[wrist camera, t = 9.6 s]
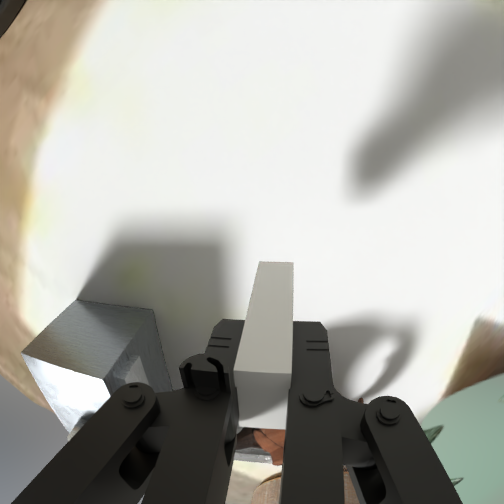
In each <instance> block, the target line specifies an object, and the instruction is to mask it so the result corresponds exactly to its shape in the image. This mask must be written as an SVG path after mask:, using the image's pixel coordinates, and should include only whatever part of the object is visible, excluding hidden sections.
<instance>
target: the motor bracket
mask: <svg viewBox="0 0 504 504" xmlns="http://www.w3.org/2000/svg"><path fill="white" fill-rule="evenodd" d="M21 354H22V356H23V358H24V360H25V362H26V364H27V366H28V368H29V370H30V372H31V374H32V375H33V377H34V379H35V381H36V383H37V384H38V386H39V388H40V389H41V391H42V393H43V394H44V396H45V398H46V399H47V401H48V403H49V404H50V406H51V407H52V409H53V410H54V412H55V414H56V415H57V417H58V418H59V420H60V421H61V422H62V424H63V425H64V427H65V428H66V430H67V431H68V432H69V436H68V437H67V439H68V441H69V440H70V439H71V438H72V437H73V436H74V435H75V434H76V433H77V432H78V431H79V430H80V429H81V428H82V426H83V425H84V424H85V423H86V422H87V421H88V420H89V419H90V418H91V417H92V416H93V415H94V414H95V413H96V411H97V410H98V409H99V408H100V407H101V406H102V405H103V404H104V403H105V402H106V401H107V400H108V399H109V398H110V396H111V395H112V394H113V393H114V392H115V391H116V390H117V389H119V388H120V387H121V386H123V385H125V384H128V383H132V382H141V383H145V384H147V385H149V386H150V387H152V388H153V390H154V392H155V393H158V392H169V391H173V389H172V385H171V382H170V378H169V374H168V371H167V367H166V363H165V359H164V356H163V352H162V348H161V344H160V340H159V335H158V331H157V327H156V322H155V318H154V313H153V310H150V309H141V308H133V307H124V306H116V305H108V304H101V303H94V302H87V301H80V300H75V301H74V302H73V303H72V304H71V305H69V306H68V307H67V308H66V309H65V310H64V311H63V312H62V313H61V314H60V315H59V316H58V317H57V318H56V319H54V320H53V321H52V322H51V323H50V324H49V325H48V326H47V327H46V328H45V329H44V330H43V331H42V332H41V333H40V334H39V335H38V336H37V337H36V338H35V339H34V340H33V341H32V342H31V343H30V344H29V345H28V346H27V347H26V348H25V349H24V350H23V351H22V352H21ZM242 429H243V427H240V426H239V421H238V426H237V431H236V433H237V434H238V433H239V432H240V431H241V430H242ZM234 460H240V461H249V462H260V463H272V458H271V455H270V453H269V452H265V451H264V450H263V449H258V448H246V449H242V450H235V455H234Z"/></svg>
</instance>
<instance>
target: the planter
mask: <svg viewBox="0 0 504 504" xmlns="http://www.w3.org/2000/svg"><path fill="white" fill-rule="evenodd" d="M343 472H344V497H345V504H360V503H359V500H358V498H357V495H356V492H355V489H354V486H353V484H352V481H351V478H350V475H349V473H348V472H347V471H343ZM280 486H281V476H280V477H277V478H274V479H271V480H269V481H266V482H264V483H263V484H261V485H259V486H258V487H257V488H256V489H255V490H254V493H253V496H252V501H251V504H279V496H280Z"/></svg>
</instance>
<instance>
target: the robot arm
mask: <svg viewBox="0 0 504 504" xmlns="http://www.w3.org/2000/svg"><path fill="white" fill-rule="evenodd" d="M24 1H25V0H0V37H1V36H2V34H3V33H4V32H5V30H6V29H7V28H8V26H9V25H10V23H11V22H12V21H13V19H14V18H15V16H16V14H17V13H18V11H19V10H20V8H21V6H22V5H23V3H24ZM179 370H180V374H181V378H182V382H183V385H184V388H182V389H179V390H175V391H169V392H158V393H155V392H154V390H153V388H152V387H150V386H149V385H147V384H145V383H141V382H132V383H128V384H125V385H123V386H121V387H120V388H119V389H117V390H116V391H115V392H114V393H113V394H112V395H111V396H110V398H109V399H108V400H107V401H106V402H105V403H104V404H103V405H102V406H101V407H100V408H99V409H98V410H97V411H96V413H95V414H94V415H93V416H92V417H91V418H90V419H89V420H88V421H87V422H86V423H85V424H84V425H83V426H82V428H81V429H80V430H79V431H78V432H77V433H76V434H75V435H74V436H73V437H72V438H71V439H70V440H69V442H68V443H67V444H66V445H65V446H64V447H63V448H62V449H61V450H60V451H59V452H58V453H57V454H56V456H55V457H54V458H53V459H52V460H51V461H50V462H49V463H48V464H47V465H46V466H45V467H44V468H43V470H42V471H41V472H40V473H39V474H38V475H37V476H36V477H35V478H34V479H33V480H32V482H31V483H30V484H29V485H28V486H27V487H26V488H25V489H24V490H23V491H22V492H21V493H20V494H19V496H18V497H17V498H16V499H15V500H14V501H13V502H12V503H11V504H137V503H138V502H139V501H140V499H141V498H142V497H143V495H144V494H145V495H144V498H143V500H142V503H141V504H225V501H226V496H227V491H228V486H229V481H230V476H231V471H232V465H233V460H234V455H235V450H236V445H237V433H236V431H237V426H238V421H239V426H240V427H251V428H266V429H285V440H284V449H283V464H282V475H281V486H280V496H279V504H345V497H344V472H343V464H344V465H346V467H347V470H348V473H349V475H350V478H351V481H352V484H353V486H354V489H355V492H356V495H357V498H358V500H359V503H360V504H463V503H462V501H461V500H460V498H459V495H458V494H457V492H456V490H455V488H454V486H453V484H452V482H451V480H450V478H449V477H448V475H447V473H446V471H445V469H444V467H443V465H442V464H441V462H440V460H439V458H438V456H437V454H436V453H435V451H434V449H433V447H432V445H431V444H430V442H429V440H428V438H427V437H426V435H425V433H424V431H423V430H422V428H421V426H420V425H419V423H418V421H417V419H416V418H415V416H414V414H413V413H412V411H411V409H410V408H409V406H408V405H407V404H406V403H405V402H404V401H402V400H400V399H399V398H397V397H392V396H382V397H378V398H376V399H373V400H372V401H371V402H370V403H369V404H364V403H359V402H355V401H352V400H349V399H346V398H345V397H343V396H341V395H340V394H339V393H338V392H337V391H336V389H335V388H334V385H333V382H332V372H331V363H330V354H329V345H328V337H327V330H326V329H325V328H324V326H323V325H322V324H321V323H320V322H305V321H293V262H259V264H258V268H257V273H256V277H255V281H254V285H253V290H252V294H251V298H250V302H249V307H248V311H247V315H246V319H245V320H231V319H222V320H221V321H220V322H219V323H218V324H217V325H216V326H215V327H214V329H213V332H212V334H211V339H210V340H209V343H208V347H207V348H206V351H205V353H204V354H198V355H195V356H192V357H189V358H188V359H186V360H185V361H183V363H182V364H181V365H180V367H179Z"/></svg>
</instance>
